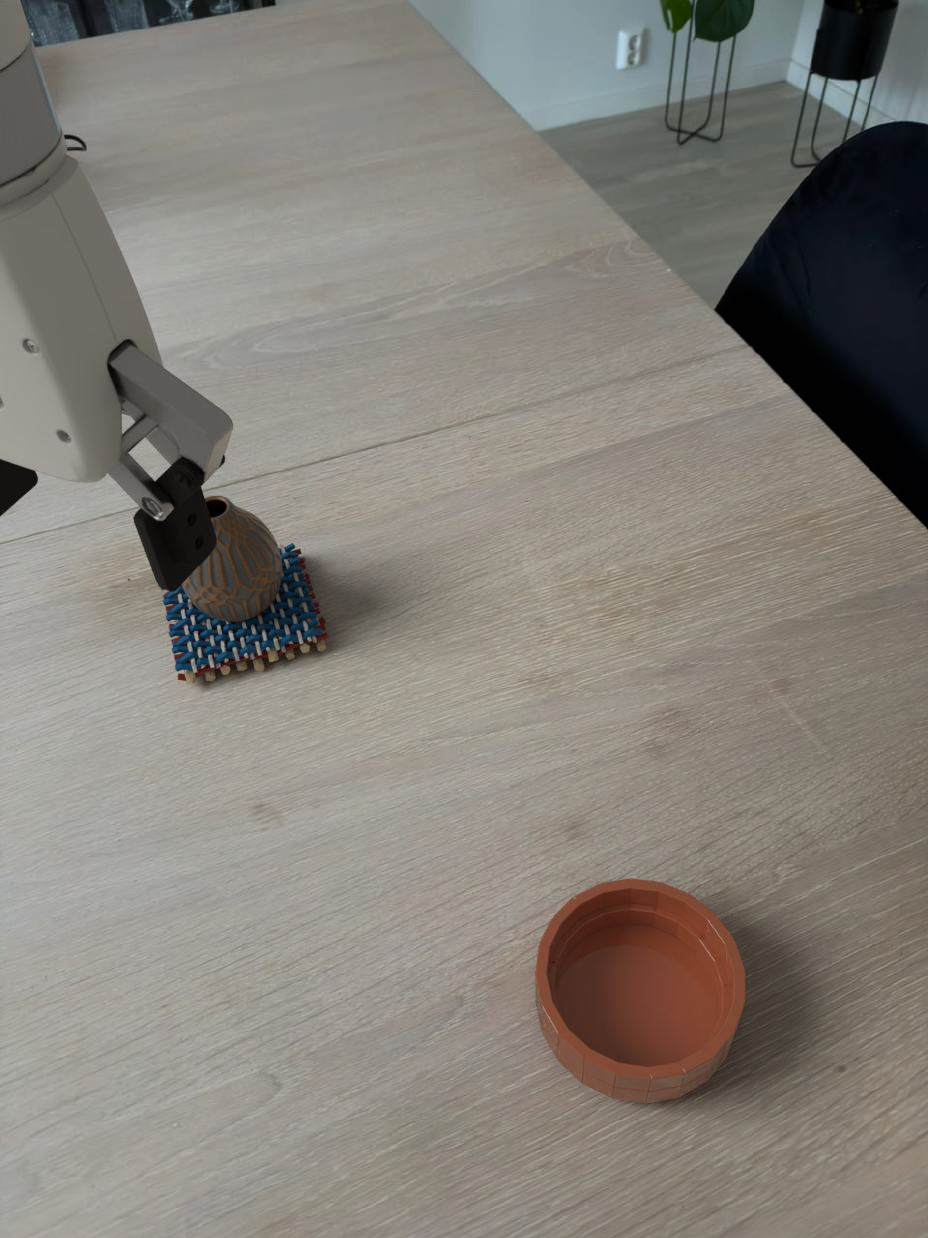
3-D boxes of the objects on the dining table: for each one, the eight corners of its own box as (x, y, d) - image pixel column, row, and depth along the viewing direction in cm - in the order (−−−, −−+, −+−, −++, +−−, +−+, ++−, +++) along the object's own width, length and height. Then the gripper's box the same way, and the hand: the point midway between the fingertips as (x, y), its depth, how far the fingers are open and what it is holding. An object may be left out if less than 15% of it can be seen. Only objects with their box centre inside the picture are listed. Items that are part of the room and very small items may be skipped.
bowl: (695, 1144, 53) (705, 1117, 50) (503, 1049, 57) (501, 1018, 54) (760, 961, 59) (772, 927, 56) (583, 885, 63) (585, 850, 60)
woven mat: (335, 653, 75) (330, 633, 74) (182, 694, 74) (174, 675, 72) (303, 553, 82) (299, 533, 81) (162, 589, 80) (155, 570, 79)
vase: (205, 651, 73) (173, 558, 67) (180, 585, 78) (147, 491, 71) (302, 616, 75) (280, 522, 69) (272, 553, 79) (248, 460, 73)
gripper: (-364, 129, 34) (-118, 531, 47) (60, 235, 28) (209, 662, 41) (-171, 40, 38) (6, 430, 51) (230, 115, 32) (318, 535, 45)
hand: (96, 533), depth 46 cm, fingers open, 9 cm apart
